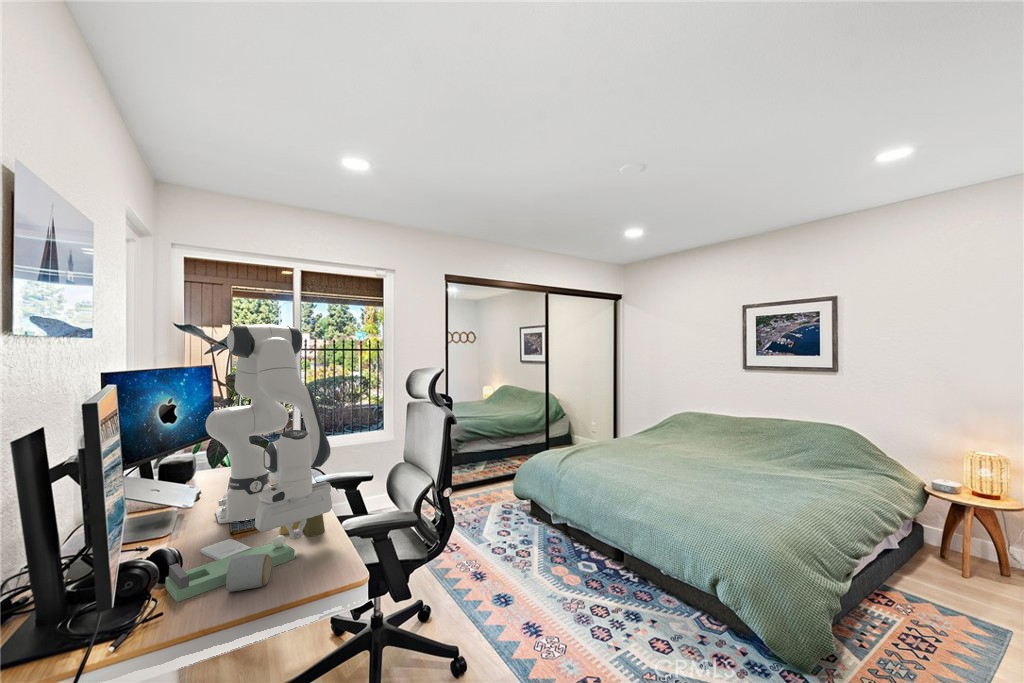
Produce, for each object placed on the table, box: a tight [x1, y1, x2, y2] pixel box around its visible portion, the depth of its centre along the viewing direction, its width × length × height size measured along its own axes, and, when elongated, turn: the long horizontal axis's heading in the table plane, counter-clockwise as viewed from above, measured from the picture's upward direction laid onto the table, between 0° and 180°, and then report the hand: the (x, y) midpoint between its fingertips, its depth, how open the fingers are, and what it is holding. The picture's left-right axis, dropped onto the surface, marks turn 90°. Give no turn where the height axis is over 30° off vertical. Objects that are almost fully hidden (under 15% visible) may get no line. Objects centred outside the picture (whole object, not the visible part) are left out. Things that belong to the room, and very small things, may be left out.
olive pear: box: [303, 514, 326, 537], centre depth 135 cm, size 6×6×11 cm
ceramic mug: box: [225, 554, 272, 593], centre depth 104 cm, size 11×8×8 cm
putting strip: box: [165, 541, 296, 603], centre depth 110 cm, size 10×26×5 cm, turn 140°
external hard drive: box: [199, 538, 253, 561], centre depth 122 cm, size 2×8×12 cm
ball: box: [272, 534, 287, 548], centre depth 118 cm, size 3×3×3 cm
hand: (296, 536), depth 122 cm, fingers closed
